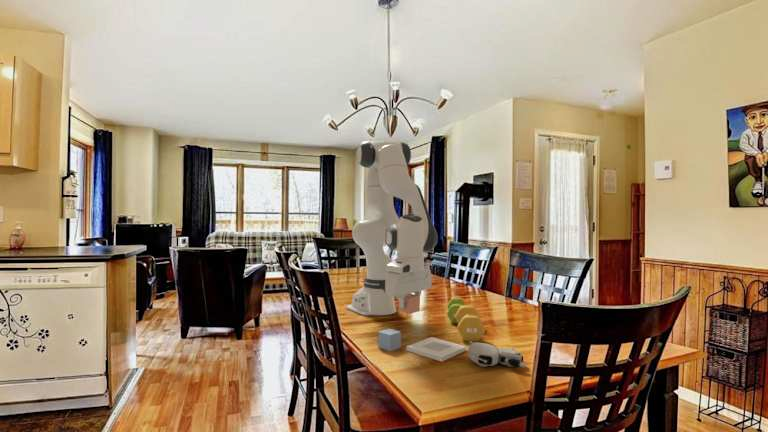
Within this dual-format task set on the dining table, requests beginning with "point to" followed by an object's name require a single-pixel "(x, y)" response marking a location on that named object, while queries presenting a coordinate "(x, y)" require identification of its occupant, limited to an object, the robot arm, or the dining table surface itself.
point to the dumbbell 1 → (454, 308)
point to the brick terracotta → (411, 304)
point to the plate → (436, 349)
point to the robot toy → (494, 355)
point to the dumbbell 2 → (469, 323)
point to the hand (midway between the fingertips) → (408, 305)
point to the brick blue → (389, 339)
